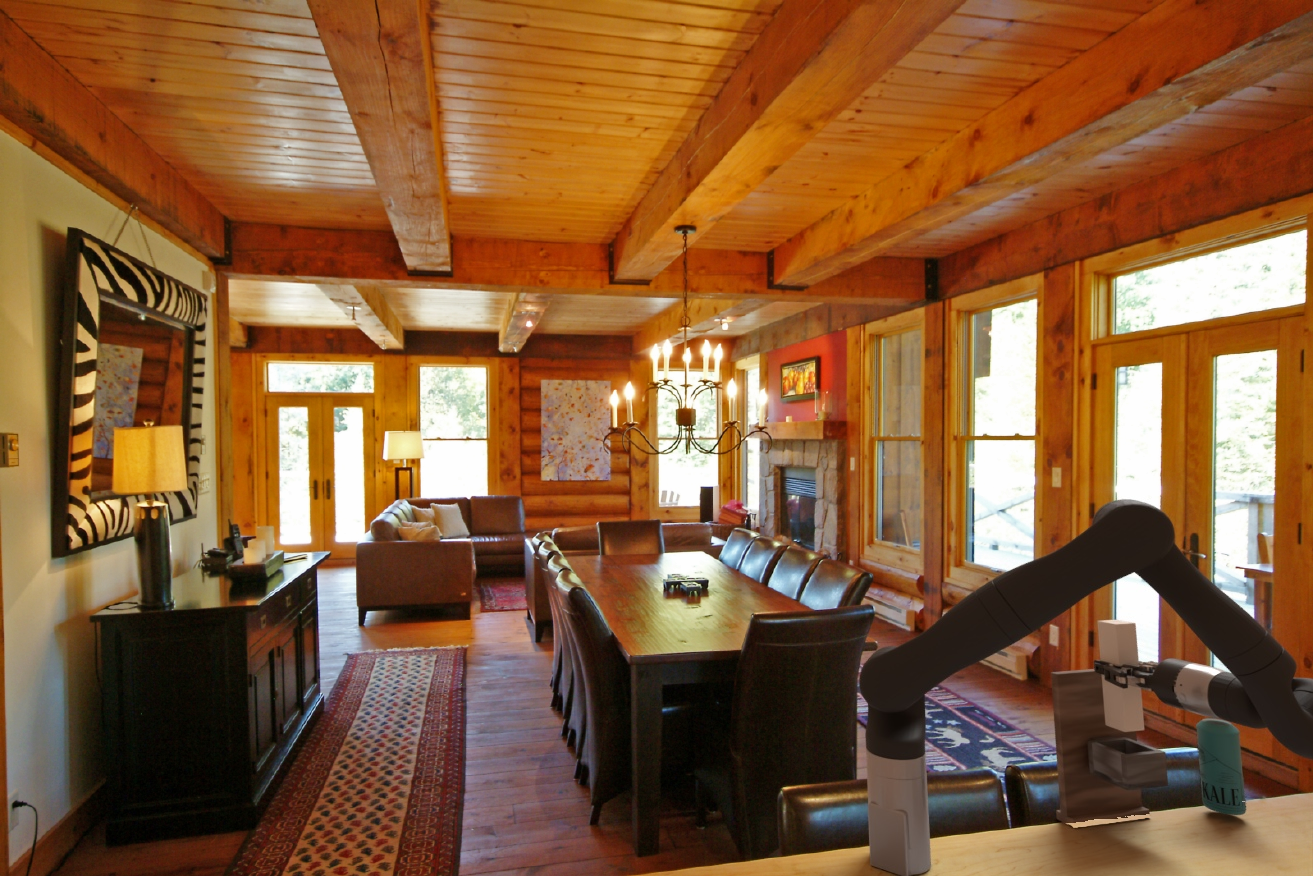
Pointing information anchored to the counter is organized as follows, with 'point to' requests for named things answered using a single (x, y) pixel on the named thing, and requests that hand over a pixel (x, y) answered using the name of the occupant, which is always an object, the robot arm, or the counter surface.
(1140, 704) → the beige tall block
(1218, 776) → the beverage bottle
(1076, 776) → the cup bracket
